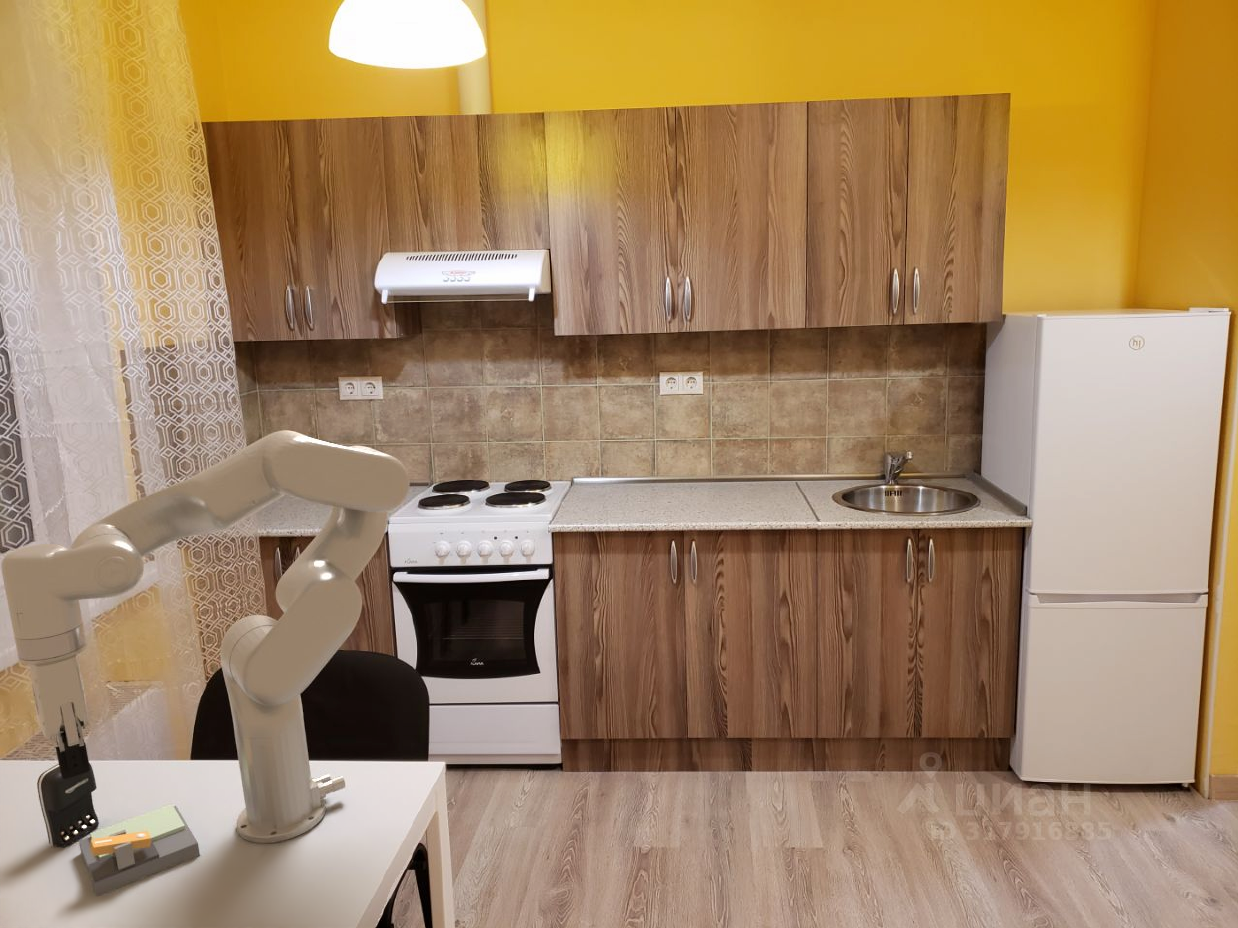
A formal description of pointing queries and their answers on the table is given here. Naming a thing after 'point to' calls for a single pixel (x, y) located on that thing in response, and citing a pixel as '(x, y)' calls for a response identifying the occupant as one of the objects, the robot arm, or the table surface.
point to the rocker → (119, 842)
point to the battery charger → (67, 805)
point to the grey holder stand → (140, 849)
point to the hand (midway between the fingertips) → (75, 772)
